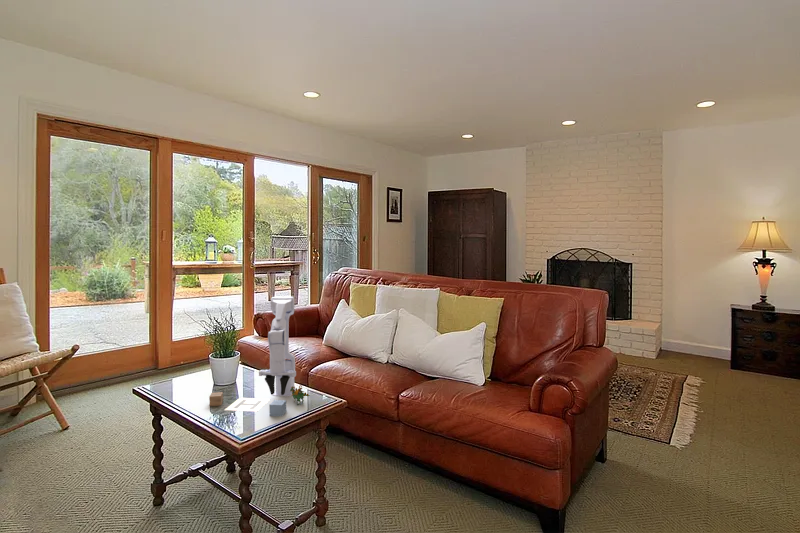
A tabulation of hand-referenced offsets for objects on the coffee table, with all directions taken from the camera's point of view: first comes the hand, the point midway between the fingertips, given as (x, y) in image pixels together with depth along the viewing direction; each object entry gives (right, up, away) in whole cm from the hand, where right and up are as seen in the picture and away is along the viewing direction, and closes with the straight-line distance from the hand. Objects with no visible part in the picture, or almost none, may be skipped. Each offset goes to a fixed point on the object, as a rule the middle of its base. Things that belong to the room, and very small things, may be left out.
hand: (277, 393), depth 176 cm
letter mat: (-15, -8, +10) cm, 20 cm away
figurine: (+6, -8, +12) cm, 16 cm away
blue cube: (0, -9, +1) cm, 8 cm away
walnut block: (-29, -8, +11) cm, 32 cm away
